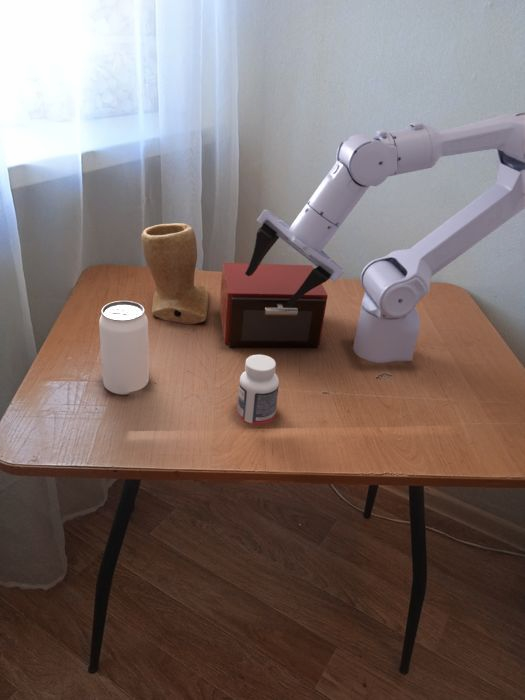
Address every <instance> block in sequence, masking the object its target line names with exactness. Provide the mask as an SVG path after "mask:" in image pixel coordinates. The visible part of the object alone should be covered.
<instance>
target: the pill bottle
mask: <svg viewBox="0 0 525 700" xmlns="http://www.w3.org/2000/svg"><path fill="white" fill-rule="evenodd" d="M276 367H277V363H276V360H275V359H274V358H272V357H271V356H269V355H265V354H251V355H249V356H248V357H247V358H246V360H245V363H244V371H243V372H242V373H241V375H240V377H239V383H238V396H237V408H236V409H237V411H236V412H237V415H238V417H239V418H240V419H241V420H242V421H245V422H246V423H248V424H253V425H264V424H268V423H270V422H272V421H273V420H274V419H275V417H276V413H277V403H278V395H279V386H280V380H279V376H278V375H277V374H276V369H277V368H276Z"/></svg>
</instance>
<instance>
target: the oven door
mask: <svg viewBox="0 0 525 700" xmlns="http://www.w3.org/2000/svg"><path fill="white" fill-rule="evenodd" d="M290 299H291V298H260V297H232V302H231V318H230V333H229V344H228V348H229V349H231V348H233V349H235V348H237V349H247V348H248V349H249V348H250V349H252V348H253V349H256V348H257V349H318V348H319V345H318V343H319V337H320V331H321V324H322V318H323V312H324V306H325V299H312V298H299V299H298V300H297V301H296V302H295V303H294V304H293V305H292V306H291V307H290V308H288V307H287V306H285V305H286V304H287V302H288V301H289V300H290Z"/></svg>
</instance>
